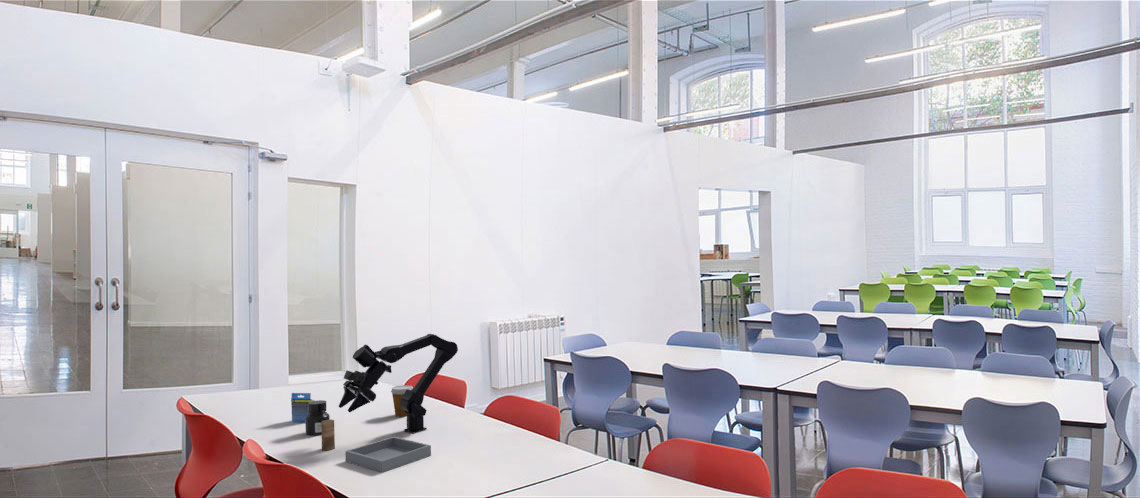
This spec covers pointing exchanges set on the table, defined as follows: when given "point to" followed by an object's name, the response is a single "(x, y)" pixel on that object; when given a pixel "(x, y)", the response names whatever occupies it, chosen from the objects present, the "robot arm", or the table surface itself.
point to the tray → (388, 454)
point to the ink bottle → (315, 417)
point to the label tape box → (300, 406)
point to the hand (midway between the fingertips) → (343, 409)
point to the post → (327, 435)
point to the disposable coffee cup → (399, 398)
